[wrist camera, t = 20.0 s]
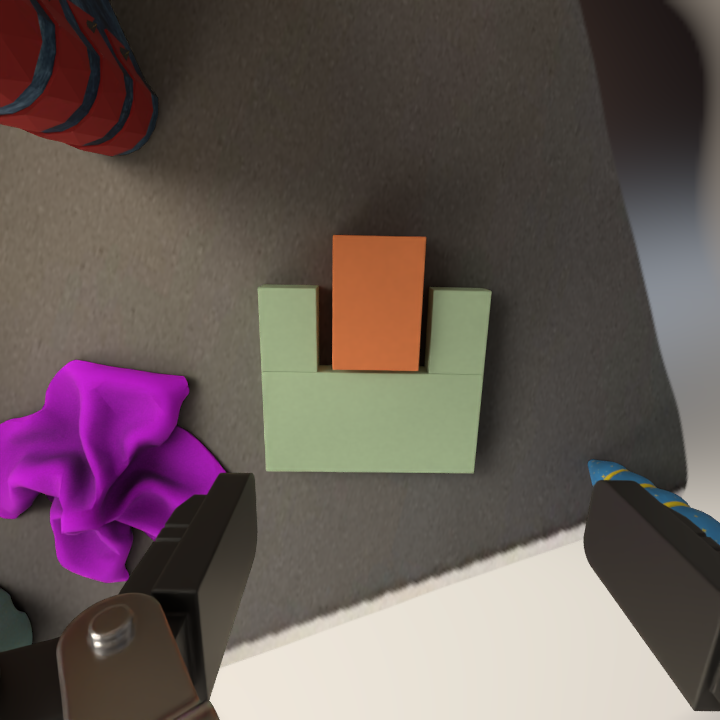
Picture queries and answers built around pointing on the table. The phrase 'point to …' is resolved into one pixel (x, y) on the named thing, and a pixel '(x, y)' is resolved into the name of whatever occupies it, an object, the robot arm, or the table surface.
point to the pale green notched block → (372, 391)
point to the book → (73, 76)
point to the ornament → (655, 495)
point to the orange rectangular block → (377, 302)
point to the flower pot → (13, 625)
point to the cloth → (103, 462)
